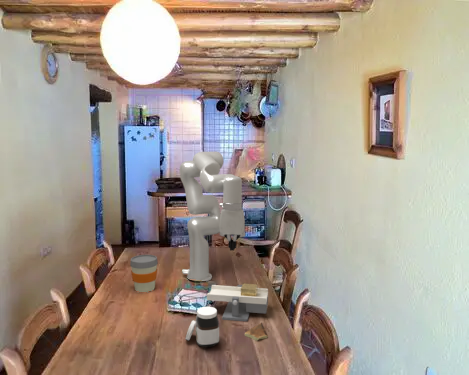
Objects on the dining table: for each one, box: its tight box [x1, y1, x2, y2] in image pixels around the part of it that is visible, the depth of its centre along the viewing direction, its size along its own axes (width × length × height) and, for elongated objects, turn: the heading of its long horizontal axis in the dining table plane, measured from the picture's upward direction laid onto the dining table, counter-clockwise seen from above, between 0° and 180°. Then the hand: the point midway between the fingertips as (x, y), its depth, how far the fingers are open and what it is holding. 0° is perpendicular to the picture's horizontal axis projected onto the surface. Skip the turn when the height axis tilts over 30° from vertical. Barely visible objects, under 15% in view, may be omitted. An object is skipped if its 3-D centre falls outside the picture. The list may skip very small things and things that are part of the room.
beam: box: [206, 284, 269, 314], centre depth 162 cm, size 24×10×6 cm, turn 81°
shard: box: [244, 322, 269, 341], centre depth 145 cm, size 11×8×2 cm
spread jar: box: [185, 306, 220, 348], centre depth 138 cm, size 12×11×12 cm
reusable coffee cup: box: [130, 254, 158, 293], centre depth 185 cm, size 13×13×15 cm
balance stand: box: [221, 284, 251, 322], centre depth 162 cm, size 10×17×8 cm, turn 171°
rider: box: [241, 282, 258, 297], centre depth 161 cm, size 6×6×4 cm
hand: (232, 249), depth 164 cm, fingers closed
